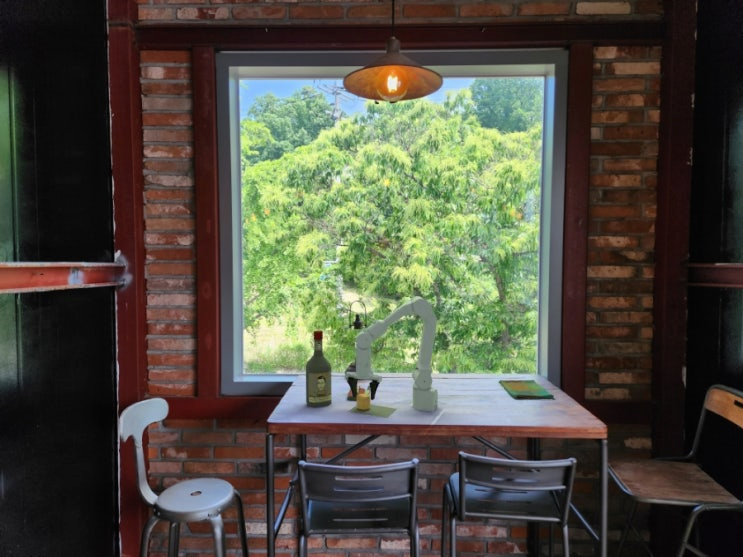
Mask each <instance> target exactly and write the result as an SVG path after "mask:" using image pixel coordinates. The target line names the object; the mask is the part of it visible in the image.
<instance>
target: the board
mask: <svg viewBox="0 0 743 557" xmlns="http://www.w3.org/2000/svg"><path fill="white" fill-rule="evenodd" d="M397 409H398V408H394V407H388V406H381V405H375V404H371V403H370V408H369V409H365V410H362V409H358V408H357V404H356V405H355V406H353V407H352V408H351V409H349V410H348V412H351V413H357V414H362V415H368V416H373V417H378V418H386V419H388V418H389V417H390V416H391V415H393V413H395V411H397Z"/></svg>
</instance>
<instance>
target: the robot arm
mask: <svg viewBox="0 0 743 557" xmlns="http://www.w3.org/2000/svg"><path fill="white" fill-rule="evenodd" d="M414 314H416V315H418V316H419V317H420V319H421V320H422V322H423V325H422V332H421V339H420V346H419V352H418V358H417V362H416V364H415V368H414V369H413V371H412V374H411V377H412V379H413V381H414V382H413V384H412V408H413V409H415V410H417V411H423V412H424V411H427V412H431V413H432V412H435V410H436V409H437V408H438V407H439V406H438V405H439V404H438V400H439V399H438V398H439V394H438V390H437V388H434V387H432V386H433V378H432V366H431V365H432V358H433V357H432V356H433V349H434V345H435V343H434V342H435V336H436V331H437V323H438V318H437V315H436V313H435V310H434V308H433V305H432V304H431V303H430V302H429V301H428V300H427V299H425V298H423V297H422V296H419V295H416V296H413V297H411V298H410V299H408V300H406V301H405V302H403V303H402V304H401V305H400V306H399V307H397V308H396V309H395V310H393V311H392V312H391V313H390V314H389V315H387V316H386V317H385V318H383V319H377V320H376V319H374V320H373V321H372V323H371V324H370V325H369V326H367V327H366V328H362V331H360V332H358V333H357V335H356V336H355V339H354V340H355V343H356V346H355V347H356V351H355V363H356V364H355V371H347V372H346V373H345V379H347V380H346V382H347V384H348V386H349V387H350V388H349V389H351V391H352V395H353V397H356V396H357V386H358V381H359V380H364V381H370V382H369V384H368V386H370V401H374V400H375V398H376V393H377V390H378V387H379V386H380V383H381V382H382V381H383V377H382V375H378V374H374V373H372V351H371V346H372V343H373V342H375V341H377V340H378V339H379V338H381V337H382V336H383V335H384V334H386V333H387V332H388V330H389V327H390V326H391V325H392V324H395V322H398V321H399V320H400V319H402V318H403V317H405V316H413V315H414Z"/></svg>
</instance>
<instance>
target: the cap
mask: <svg viewBox="0 0 743 557" xmlns="http://www.w3.org/2000/svg"><path fill="white" fill-rule="evenodd" d="M370 404H371V394H370V393H369V394H358V395H357V400H356V405H357V408H358V409H362V410H365V409H369V408H370Z"/></svg>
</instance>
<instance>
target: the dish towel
mask: <svg viewBox="0 0 743 557" xmlns="http://www.w3.org/2000/svg"><path fill="white" fill-rule="evenodd" d="M499 383H500V384H501V385H502V386H503V387H504V388H503V387H502V386H501V385H500V384H499ZM498 384H499V385H500V386H501V387H502V388H503V389H504V390H505V391H506V392H507V394H509V395H510V396H511V397H512V398H513V399H514V398H515V400H540V399H553V400H555V395H553V393H550V392H549V391H548V390H547V389H545V388H544V387H542V385H541V384H538V383H537V382H536V381H535V379H520V380H518V379H517V380H514V379H513V380H512V379H509V380H507V379H506V380H501V379H500V380H498Z"/></svg>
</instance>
